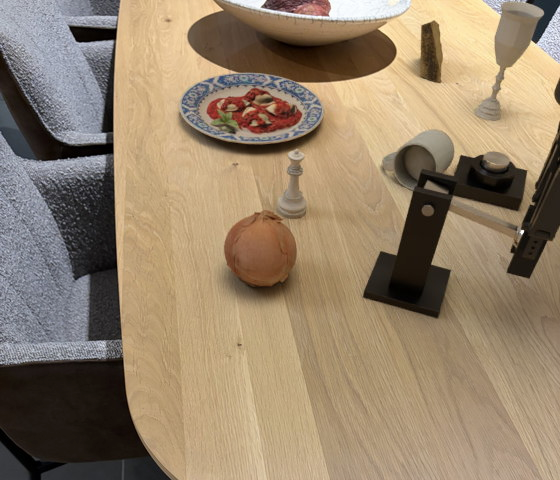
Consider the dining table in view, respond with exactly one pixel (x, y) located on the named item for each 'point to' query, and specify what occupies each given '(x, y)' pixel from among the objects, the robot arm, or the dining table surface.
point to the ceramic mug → (420, 157)
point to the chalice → (509, 47)
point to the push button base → (490, 183)
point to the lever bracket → (416, 253)
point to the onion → (260, 249)
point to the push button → (495, 162)
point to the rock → (431, 51)
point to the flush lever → (479, 215)
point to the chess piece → (293, 189)
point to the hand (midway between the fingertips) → (520, 263)
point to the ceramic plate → (251, 108)
